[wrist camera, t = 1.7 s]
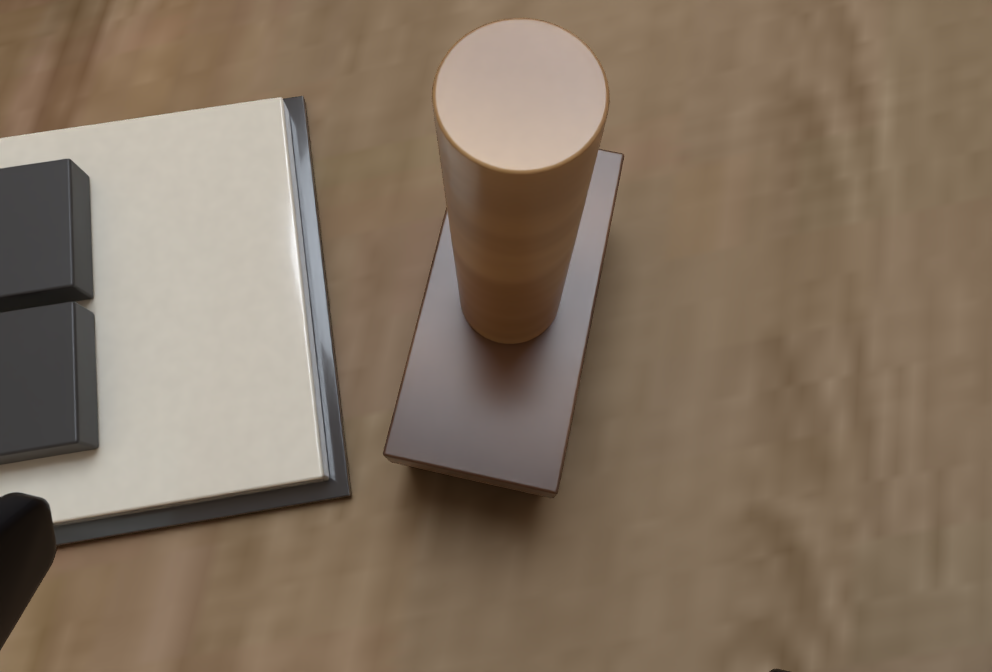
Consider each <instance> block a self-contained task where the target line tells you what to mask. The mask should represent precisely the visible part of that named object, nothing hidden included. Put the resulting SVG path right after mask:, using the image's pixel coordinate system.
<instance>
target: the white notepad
mask: <svg viewBox="0 0 992 672" xmlns="http://www.w3.org/2000/svg"><path fill="white" fill-rule="evenodd" d="M61 159H71V160H72V161H73V162H74V163H75V164H77V165H78V166H79V167H80V168H81V169H82V170H83V171H84V172H85V173H86V174H87V175H88V176H89V182H90V211H91V240H92V269H93V298H92V299H87V300H81V301H74V302H76V303H78V304H80V305H81V306H83V307H85V308H86V309H88V310H90V311H91V312H93V314H94V324H95V353H96V382H97V411H98V440H99V446H98V448H97V449H93V450H87V451H81V452H75V453H69V454H63V455H57V456H51V457H45V458H39V459H33V460H26V461H20V462H14V463H8V464H2V465H0V497H1V496H3V495H6V494H9V493H12V492H20V493H25V494H29V495H33V496H38V497H42V498H44V499H46V501H47V502H48V503H49V505H50V509H51V514H52V520H53V526H54V532H55V538H56V546H60V545H66V544H72V543H78V542H84V541H90V540H95V539H101V538H107V537H113V536H119V535H125V534H131V533H137V532H143V531H149V530H154V529H160V528H166V527H172V526H178V525H184V524H190V523H196V522H202V521H208V520H213V519H219V518H225V517H231V516H237V515H243V514H249V513H255V512H261V511H267V510H272V509H278V508H284V507H290V506H296V505H302V504H308V503H314V502H320V501H326V500H331V499H337V498H343V497H349V496H351V487H350V479H349V470H348V462H347V453H346V445H345V436H344V428H343V419H342V411H341V402H340V394H339V385H338V376H337V368H336V359H335V351H334V342H333V334H332V325H331V317H330V308H329V300H328V291H327V283H326V274H325V266H324V257H323V249H322V240H321V232H320V223H319V215H318V206H317V198H316V189H315V181H314V172H313V164H312V155H311V147H310V138H309V130H308V121H307V113H306V104H305V99H304V97H303V96H299V97H292V98H285V99H282V98H281V97H278V98H271V99H264V100H257V101H251V102H244V103H237V104H230V105H223V106H216V107H210V108H203V109H196V110H189V111H182V112H175V113H169V114H162V115H155V116H148V117H141V118H134V119H128V120H121V121H114V122H107V123H100V124H93V125H87V126H80V127H73V128H66V129H59V130H53V131H46V132H39V133H32V134H25V135H18V136H12V137H5V138H0V168H7V167H14V166H20V165H27V164H34V163H41V162H47V161H54V160H61Z"/></svg>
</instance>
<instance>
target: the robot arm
mask: <svg viewBox="0 0 992 672" xmlns="http://www.w3.org/2000/svg"><path fill="white" fill-rule="evenodd" d="M55 554H56V538H55V532H54V526H53V520H52V514H51V509H50V505H49V503H48V502H47V501H46V499H44V498H42V497H38V496H33V495H29V494H25V493H20V492H12V493H9V494H6V495H3V496H1V497H0V650H1V648H2V647H3V645H4V643H5V642H6V640H7V638H8V637H9V635H10V633H11V632H12V630H13V628H14V627H15V625H16V623H17V622H18V620H19V618H20V617H21V615H22V613H23V612H24V610H25V608H26V607H27V605H28V603H29V602H30V600H31V598H32V597H33V595H34V593H35V592H36V590H37V588H38V587H39V585H40V583H41V582H42V580H43V578H44V577H45V575H46V573H47V572H48V570H49V568H50V567H51V565H52V563H53V560H54V558H55ZM770 672H790V671H785V670H781V669H773V670H771V671H770Z"/></svg>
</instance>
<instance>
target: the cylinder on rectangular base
mask: <svg viewBox="0 0 992 672" xmlns="http://www.w3.org/2000/svg"><path fill="white" fill-rule="evenodd" d="M609 102H610V101H609V87H608V81H607V78H606V75H605V72H604V69H603V67H602V65H601V63H600V61H599V60H598V58H597V57H596V55H595V54H594V52H593V51H592V50H591V49H590V48H589V47H588V45H587V44H586V43H584V42H583V41H582V40H581V39H580V38H579V37H577V36H576V35H574V34H573V33H571V32H570V31H568V30H566V29H564V28H562V27H560V26H558V25H555V24H553V23H550V22H546V21H542V20H538V19H530V18H510V19H503V20H498V21H494V22H491V23H488V24H485V25H482V26H480V27H478V28H476V29H474V30H472V31H471V32H469V33H468V34H466V35H465V36H463V37H462V38H461V39H460V40H458V41H457V42H456V43H455V44H454V45H453V46H452V47H451V49H450V50H449V51H448V52H447V54H446V55H445V57H444V58H443V60H442V61H441V63H440V65H439V67H438V69H437V72H436V75H435V78H434V83H433V88H432V104H433V112H434V119H435V126H436V134H437V141H438V148H439V155H440V162H441V169H442V176H443V184H444V191H445V198H446V205H447V207H446V211H445V215H444V219H443V223H442V226H441V230H440V234H439V238H438V242H437V246H436V250H435V254H434V257H433V261H432V265H431V269H430V273H429V277H428V281H427V285H426V288H425V292H424V296H423V300H422V304H421V308H420V312H419V316H418V319H417V323H416V327H415V331H414V335H413V339H412V343H411V347H410V350H409V354H408V358H407V362H406V366H405V370H404V374H403V377H402V381H401V385H400V389H399V393H398V397H397V401H396V405H395V408H394V412H393V416H392V420H391V424H390V428H389V432H388V436H387V439H386V443H385V447H384V451H383V455H384V456H385V457H386V458H387V459H388V460H389V461H390V462H392V463H397V464H401V465H406V466H410V467H415V468H419V469H424V470H428V471H433V472H437V473H442V474H446V475H450V476H455V477H459V478H464V479H468V480H473V481H477V482H482V483H486V484H491V485H495V486H500V487H504V488H508V489H513V490H517V491H522V492H526V493H531V494H535V495H540V496H544V497H549V498H553V497H554V496H555V495H556V494H557V493H558V490H559V485H560V480H561V475H562V469H563V464H564V459H565V454H566V449H567V444H568V439H569V434H570V429H571V424H572V419H573V414H574V409H575V404H576V398H577V393H578V388H579V383H580V378H581V373H582V368H583V363H584V358H585V353H586V348H587V343H588V338H589V332H590V327H591V322H592V317H593V312H594V307H595V302H596V297H597V292H598V287H599V282H600V277H601V272H602V267H603V261H604V256H605V251H606V246H607V241H608V236H609V231H610V226H611V221H612V216H613V211H614V206H615V201H616V195H617V190H618V185H619V180H620V175H621V170H622V165H623V160H624V154H622V153H617V152H612V151H606V150H601V149H599V146H600V142H601V138H602V134H603V130H604V127H605V123H606V119H607V115H608V109H609Z"/></svg>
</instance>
